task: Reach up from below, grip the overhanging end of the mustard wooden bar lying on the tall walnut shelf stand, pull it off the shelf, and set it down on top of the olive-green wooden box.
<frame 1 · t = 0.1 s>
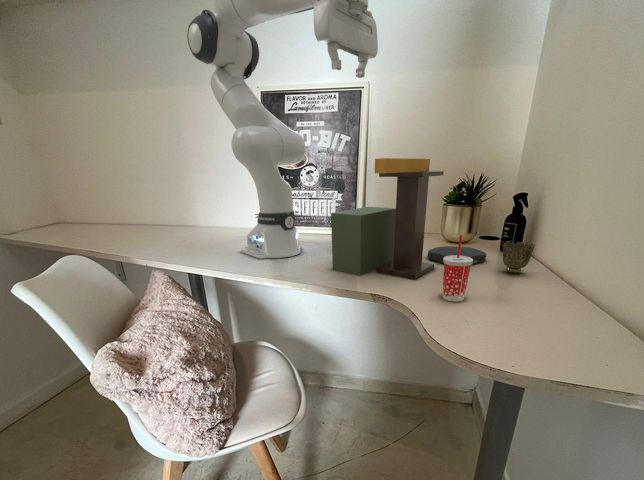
hand: (348, 73, 80), 48 cm above the table, tool pointing down, fingers open, 8 cm apart
wooden bar: (404, 172, 82), point 26 cm above the table, touching shelf stand
cup: (513, 273, 92), on the table
shelf stand: (405, 270, 95), on the table
beverage cup: (453, 298, 75), on the table
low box: (364, 265, 101), on the table
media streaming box: (455, 260, 105), on the table
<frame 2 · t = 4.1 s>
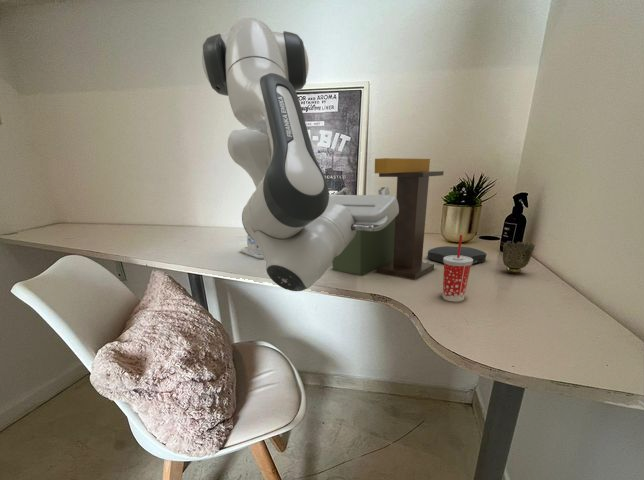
hand: (366, 190, 71), 23 cm above the table, tool pointing upward, fingers open, 8 cm apart
nothing on the table moved.
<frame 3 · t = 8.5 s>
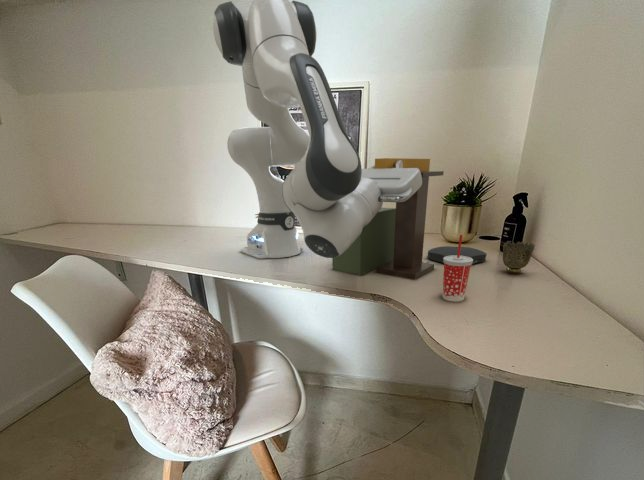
hand: (391, 163, 77), 28 cm above the table, tool pointing upward, fingers closed on wooden bar, 3 cm apart
wooden bar: (404, 172, 82), point 26 cm above the table, touching gripper, shelf stand
everything else where it was.
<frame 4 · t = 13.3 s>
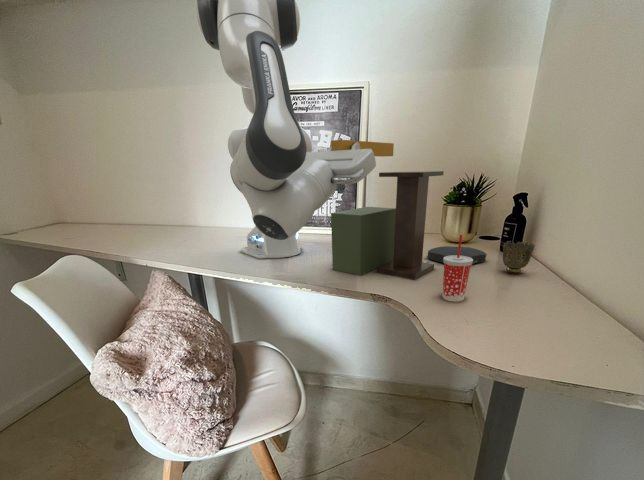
hand: (349, 146, 76), 32 cm above the table, tool pointing upward, fingers closed on wooden bar, 3 cm apart
wooden bar: (364, 156, 81), point 30 cm above the table, touching gripper
everything else where it was.
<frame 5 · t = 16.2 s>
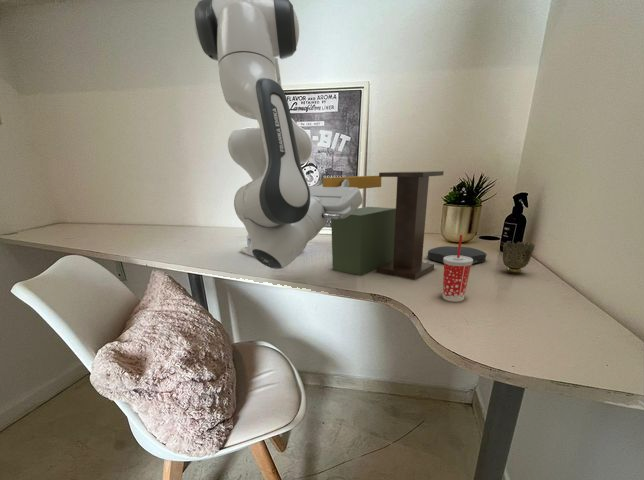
hand: (339, 181, 83), 24 cm above the table, tool pointing upward, fingers closed on wooden bar, 3 cm apart
wooden bar: (354, 188, 89), point 22 cm above the table, touching gripper
everything else where it was.
when the fingers open (18 cm above the table, at t = 18.2 s): wooden bar stays where it is, resting on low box.
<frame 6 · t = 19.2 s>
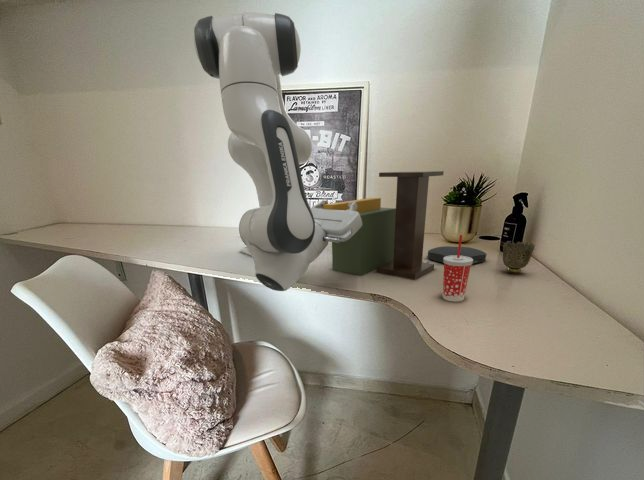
hand: (339, 203, 86), 19 cm above the table, tool pointing upward, fingers open, 8 cm apart
wooden bar: (354, 212, 91), point 16 cm above the table, touching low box
everything else where it was.
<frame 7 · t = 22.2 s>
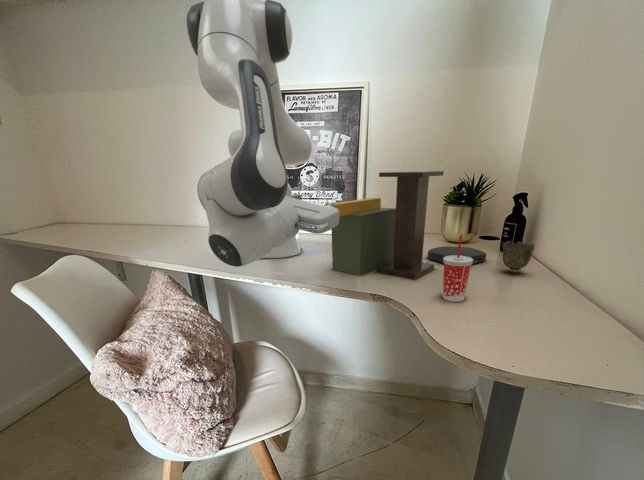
hand: (315, 201, 80), 20 cm above the table, tool horizontal, fingers open, 8 cm apart
nothing on the table moved.
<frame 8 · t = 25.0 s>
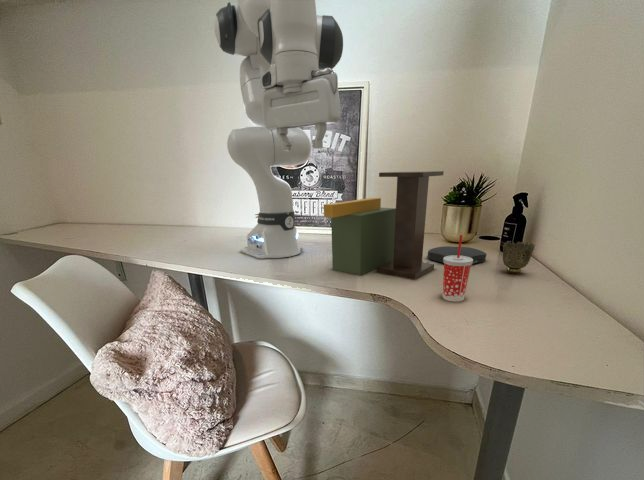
hand: (301, 149, 74), 31 cm above the table, tool pointing down, fingers open, 8 cm apart
nothing on the table moved.
at the end: wooden bar inside the target area on the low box (5.1 cm from its centre), point 16.0 cm above the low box's base; wooden bar tilted 0°; the gripper is holding nothing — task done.
